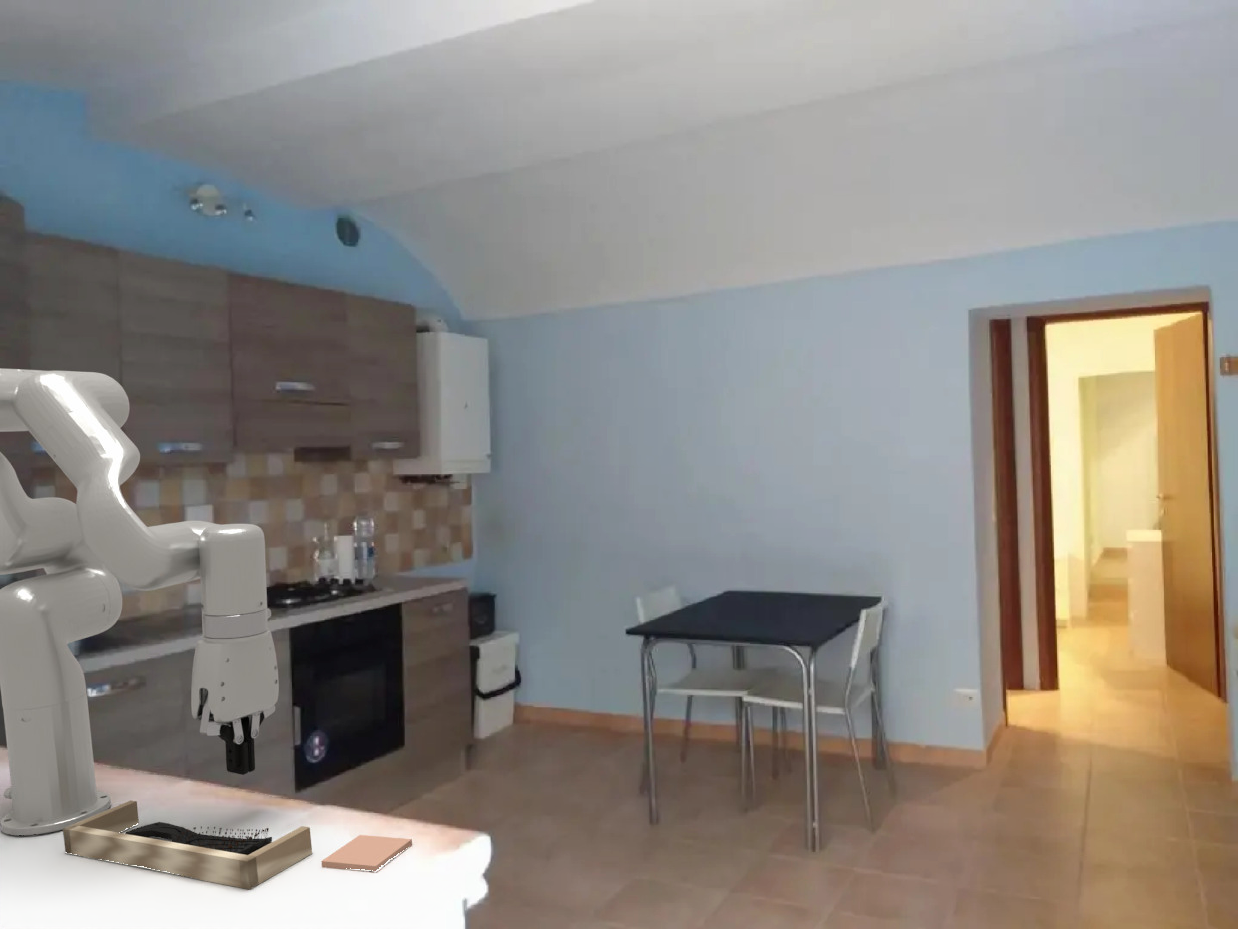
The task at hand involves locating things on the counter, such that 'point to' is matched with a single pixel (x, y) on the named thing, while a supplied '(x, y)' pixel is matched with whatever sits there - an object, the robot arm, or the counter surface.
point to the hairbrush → (203, 838)
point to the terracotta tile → (366, 852)
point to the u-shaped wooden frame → (181, 850)
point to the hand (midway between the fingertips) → (240, 771)
